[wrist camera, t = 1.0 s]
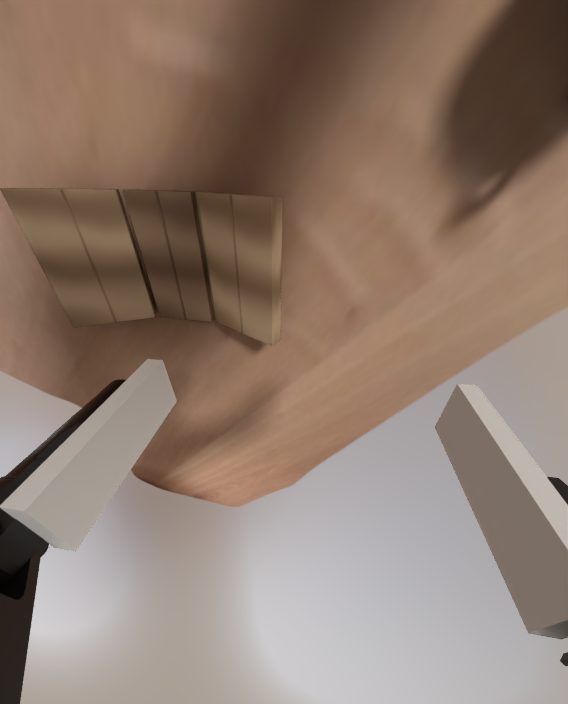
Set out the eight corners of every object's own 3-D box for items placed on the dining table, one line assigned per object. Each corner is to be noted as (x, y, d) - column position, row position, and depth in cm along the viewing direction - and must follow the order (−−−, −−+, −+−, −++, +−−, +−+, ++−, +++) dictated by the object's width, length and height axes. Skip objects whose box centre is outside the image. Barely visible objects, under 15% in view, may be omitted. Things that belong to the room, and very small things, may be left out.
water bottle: (96, 371, 42) (-85, 521, 24) (153, 381, 42) (14, 543, 23) (113, 410, 48) (-22, 556, 30) (163, 420, 48) (59, 574, 29)
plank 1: (8, 187, 23) (-1, 188, 22) (118, 189, 26) (115, 189, 24) (77, 322, 31) (73, 327, 30) (155, 312, 34) (154, 317, 32)
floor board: (125, 189, 26) (114, 189, 24) (204, 191, 25) (198, 192, 24) (161, 311, 34) (154, 317, 32) (221, 316, 33) (217, 322, 32)
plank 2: (209, 192, 25) (196, 192, 24) (282, 196, 20) (270, 197, 19) (225, 318, 33) (216, 322, 32) (280, 340, 28) (271, 346, 27)
